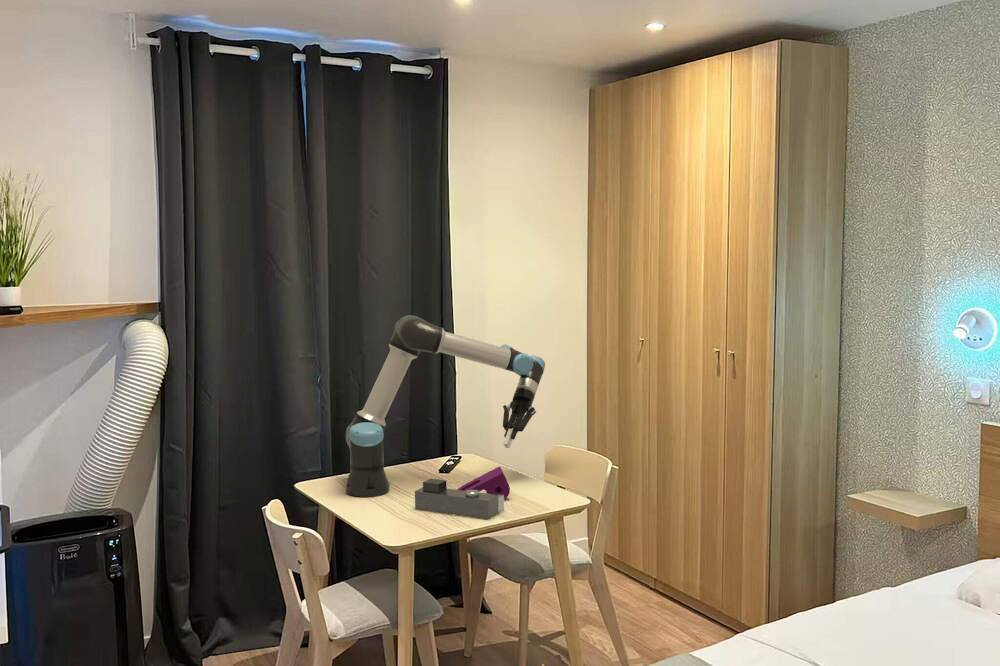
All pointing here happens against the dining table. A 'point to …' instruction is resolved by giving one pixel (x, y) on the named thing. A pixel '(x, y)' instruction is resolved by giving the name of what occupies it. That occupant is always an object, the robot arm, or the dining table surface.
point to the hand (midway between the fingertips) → (506, 445)
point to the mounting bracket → (489, 483)
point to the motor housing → (457, 500)
